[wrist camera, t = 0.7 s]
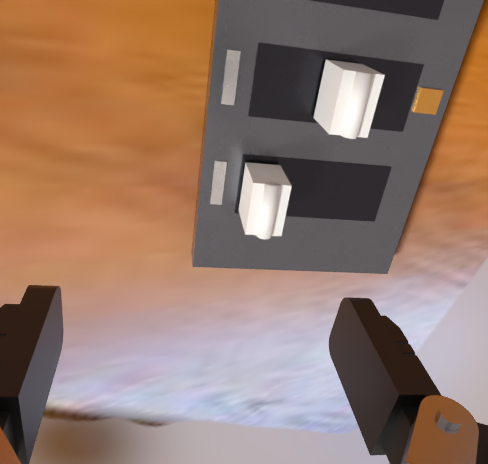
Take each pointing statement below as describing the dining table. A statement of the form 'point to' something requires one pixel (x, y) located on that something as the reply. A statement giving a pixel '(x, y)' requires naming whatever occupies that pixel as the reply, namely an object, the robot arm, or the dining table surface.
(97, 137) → the dining table surface
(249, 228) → the breaker
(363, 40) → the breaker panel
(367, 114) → the breaker
